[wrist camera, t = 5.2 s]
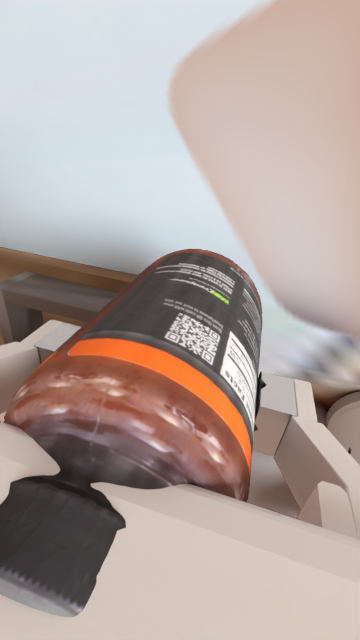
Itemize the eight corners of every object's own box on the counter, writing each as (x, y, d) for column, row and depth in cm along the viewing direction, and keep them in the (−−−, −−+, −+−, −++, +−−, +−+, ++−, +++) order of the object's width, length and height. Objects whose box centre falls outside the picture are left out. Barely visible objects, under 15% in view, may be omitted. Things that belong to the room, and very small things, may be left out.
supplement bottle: (148, 352, 16) (-36, 635, 7) (132, 244, 13) (-231, 471, 4) (260, 364, 14) (227, 768, 5) (269, 244, 12) (228, 653, 2)
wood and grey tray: (-102, 226, 28) (-169, 237, 24) (151, 278, 23) (122, 305, 18) (-62, 331, 34) (-110, 355, 30) (145, 391, 29) (122, 431, 24)
